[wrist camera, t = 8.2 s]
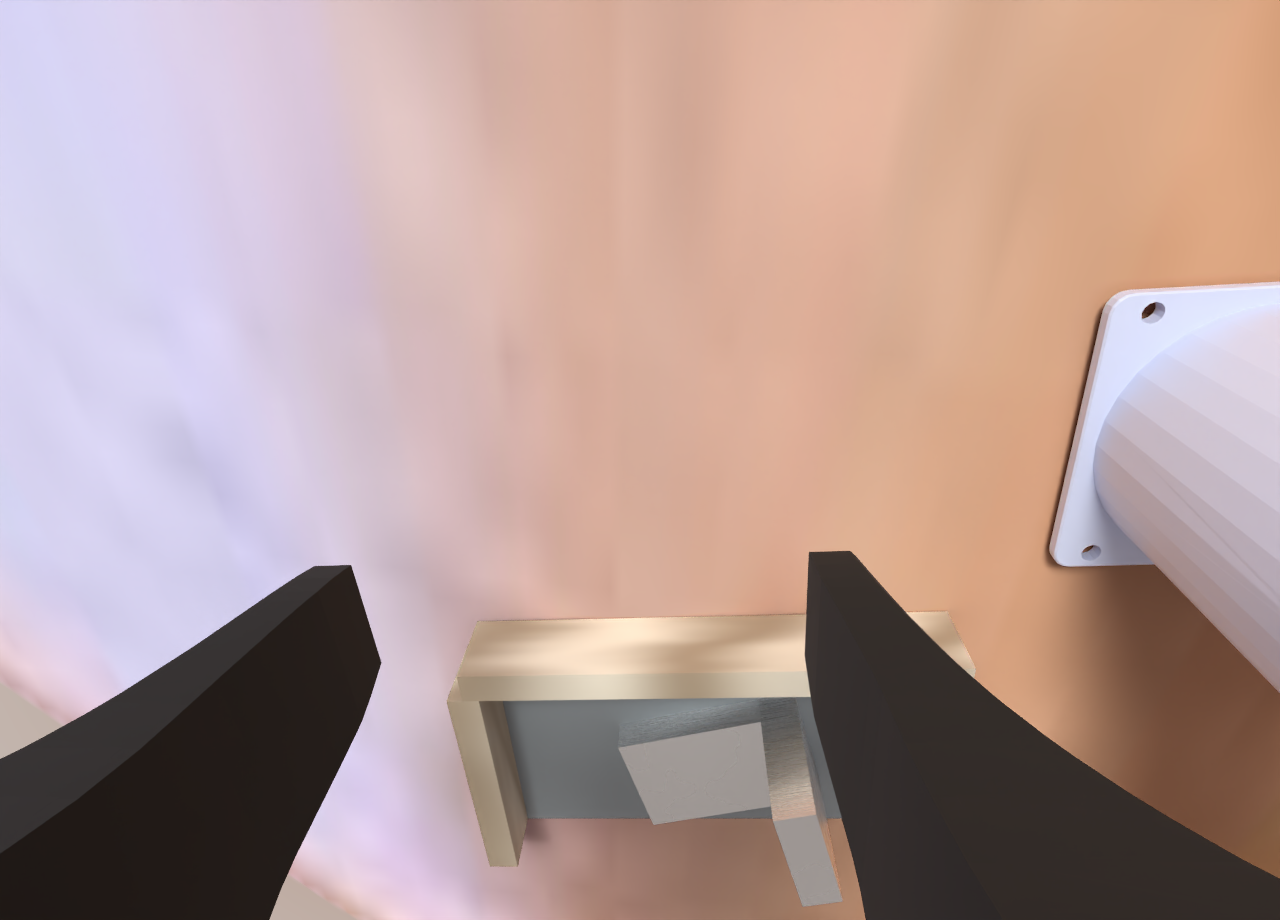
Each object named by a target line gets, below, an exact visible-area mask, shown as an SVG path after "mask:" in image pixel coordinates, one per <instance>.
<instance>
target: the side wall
mask: <svg viewBox="0 0 1280 920" xmlns="http://www.w3.org/2000/svg"><path fill="white" fill-rule="evenodd" d="M467 648H468V647H467ZM466 650H467V649H466ZM465 653H466V652H465ZM464 656H465V654H464ZM463 658H464V657H463ZM462 661H463V660H462ZM461 664H462V662H461ZM460 666H461V665H460ZM459 669H460V668H459ZM458 672H459V670H458ZM457 674H458V673H457ZM447 705H448V709H449V712H450V716H451V720H452V724H453V728H454V731H455V735H456V739H457V743H458V747H459V750H460V754H461V758H462V762H463V766H464V769H465V773H466V777H467V781H468V785H469V788H470V792H471V796H472V800H473V803H474V807H475V811H476V815H477V819H478V822H479V826H480V830H481V834H482V838H483V841H484V845H485V849H486V853H487V857H488V860H489V864H490V866H502V867H518V863H519V858H520V853H521V849H522V844H523V839H524V834H525V830H526V825H527V820H528V817H527V812H526V807H525V803H524V798H523V794H522V789H521V784H520V780H519V775H518V770H517V766H516V761H515V756H514V752H513V747H512V742H511V738H510V733H509V729H508V724H507V719H506V715H505V710H504V705H503V701H462V697H461V693H460V689H459V685H458V681H457V676H456V678H455V681H454V683H453V686H452V689H451V691H450V694H449V697H448V699H447Z"/></svg>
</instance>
